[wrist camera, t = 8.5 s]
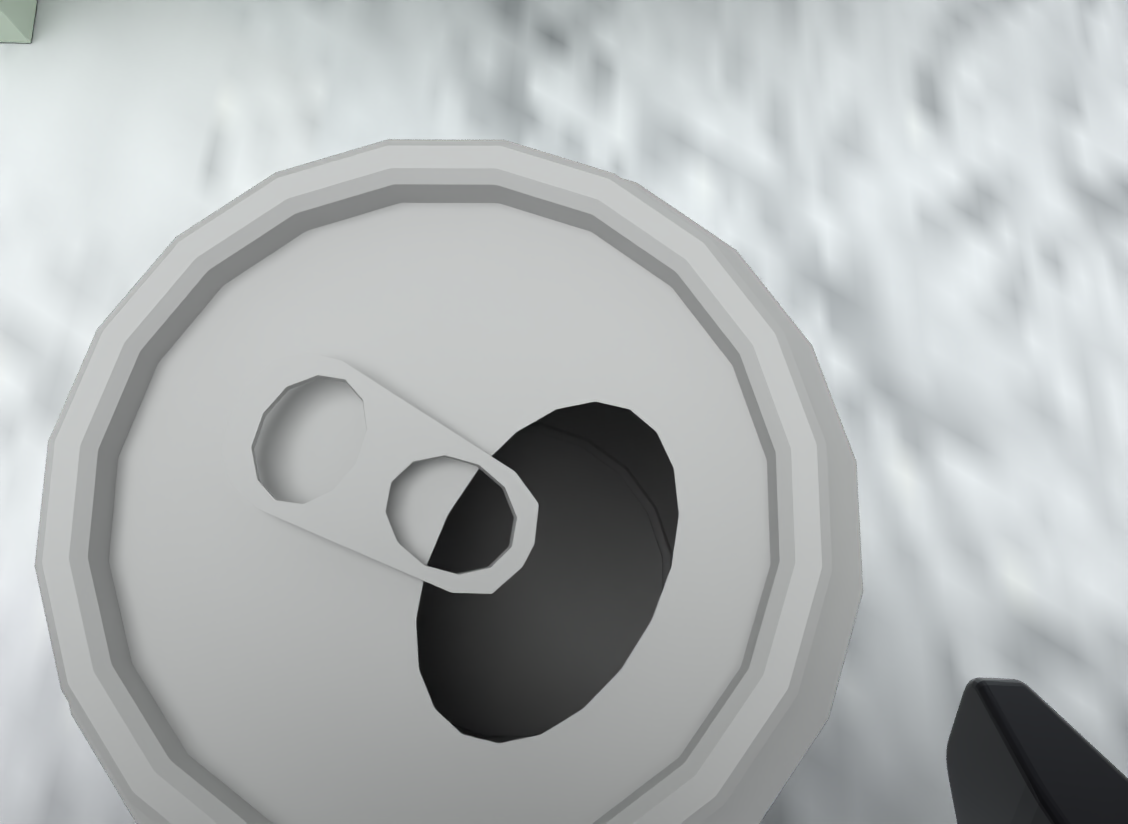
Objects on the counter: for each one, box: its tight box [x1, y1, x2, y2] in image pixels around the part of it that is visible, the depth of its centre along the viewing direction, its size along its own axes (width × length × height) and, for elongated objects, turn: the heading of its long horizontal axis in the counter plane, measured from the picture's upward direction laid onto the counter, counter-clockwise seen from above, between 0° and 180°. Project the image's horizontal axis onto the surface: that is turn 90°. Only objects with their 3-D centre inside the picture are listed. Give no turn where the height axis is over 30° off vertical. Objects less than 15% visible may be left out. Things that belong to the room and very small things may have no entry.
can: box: [35, 139, 863, 824], centre depth 14 cm, size 8×8×12 cm
